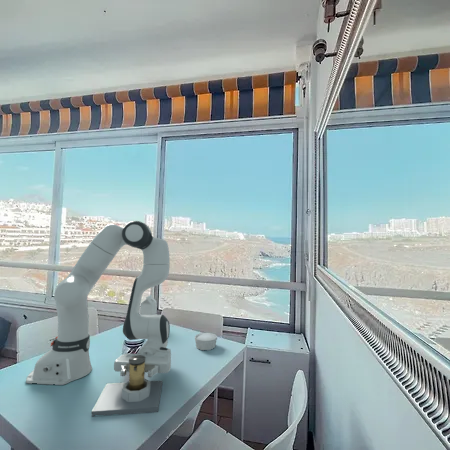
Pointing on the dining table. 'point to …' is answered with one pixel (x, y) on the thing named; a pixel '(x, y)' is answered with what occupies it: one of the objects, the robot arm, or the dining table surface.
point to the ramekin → (205, 341)
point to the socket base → (123, 406)
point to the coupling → (136, 372)
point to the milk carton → (149, 306)
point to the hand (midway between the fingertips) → (136, 374)
